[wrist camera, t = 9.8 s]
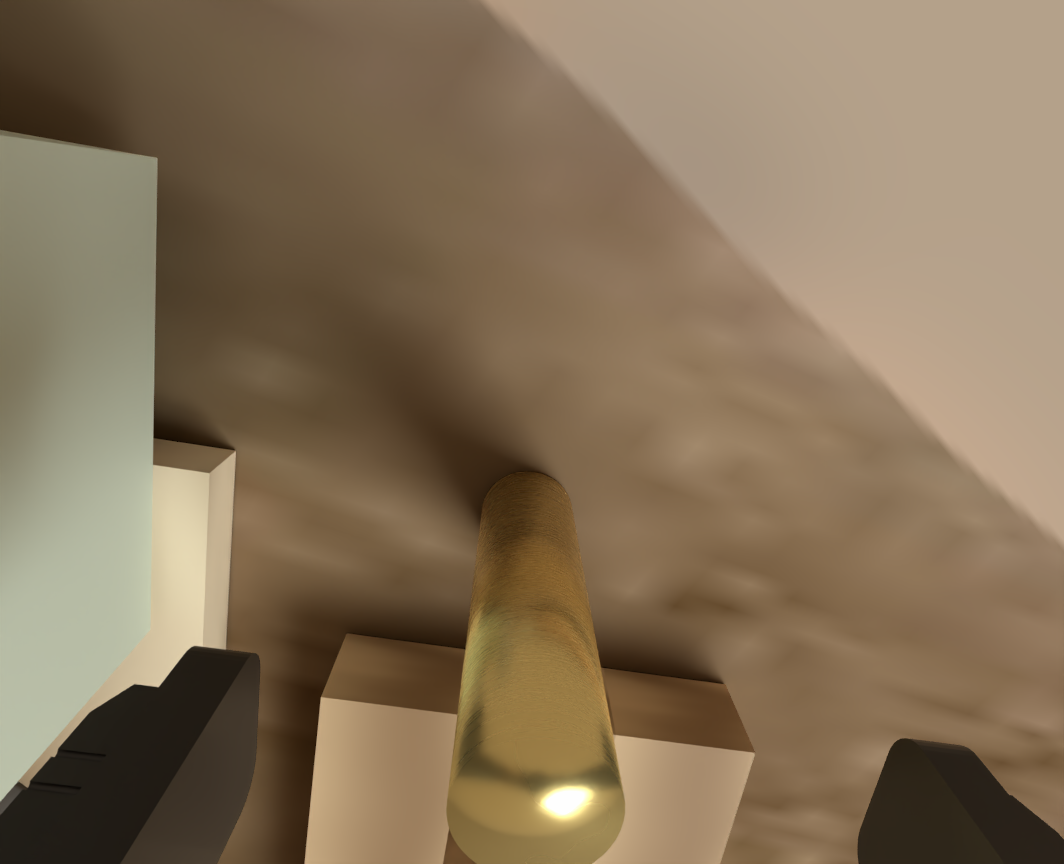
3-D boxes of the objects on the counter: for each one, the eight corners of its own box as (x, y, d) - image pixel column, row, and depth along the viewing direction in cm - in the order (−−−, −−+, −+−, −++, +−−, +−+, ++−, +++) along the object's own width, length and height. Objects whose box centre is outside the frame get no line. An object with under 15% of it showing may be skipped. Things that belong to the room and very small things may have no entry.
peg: (475, 547, 18) (435, 869, 9) (489, 464, 17) (459, 726, 8) (563, 560, 18) (605, 889, 9) (579, 478, 17) (642, 750, 9)
